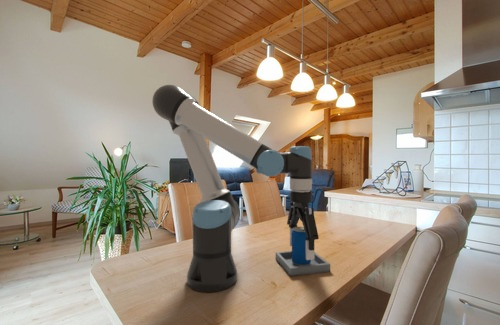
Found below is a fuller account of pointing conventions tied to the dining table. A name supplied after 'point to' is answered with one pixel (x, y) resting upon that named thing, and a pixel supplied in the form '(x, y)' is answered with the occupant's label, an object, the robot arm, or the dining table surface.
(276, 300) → the dining table surface
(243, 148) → the robot arm
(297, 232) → the beverage can
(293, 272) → the tray
